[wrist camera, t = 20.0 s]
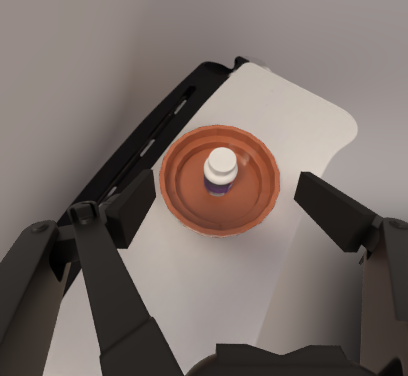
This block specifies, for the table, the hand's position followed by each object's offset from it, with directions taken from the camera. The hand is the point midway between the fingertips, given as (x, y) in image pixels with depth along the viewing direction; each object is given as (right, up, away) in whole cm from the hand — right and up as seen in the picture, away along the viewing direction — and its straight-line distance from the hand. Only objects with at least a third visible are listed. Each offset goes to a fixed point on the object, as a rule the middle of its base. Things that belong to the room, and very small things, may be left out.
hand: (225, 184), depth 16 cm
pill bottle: (0, 0, +13) cm, 13 cm away
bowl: (0, 0, +14) cm, 14 cm away
